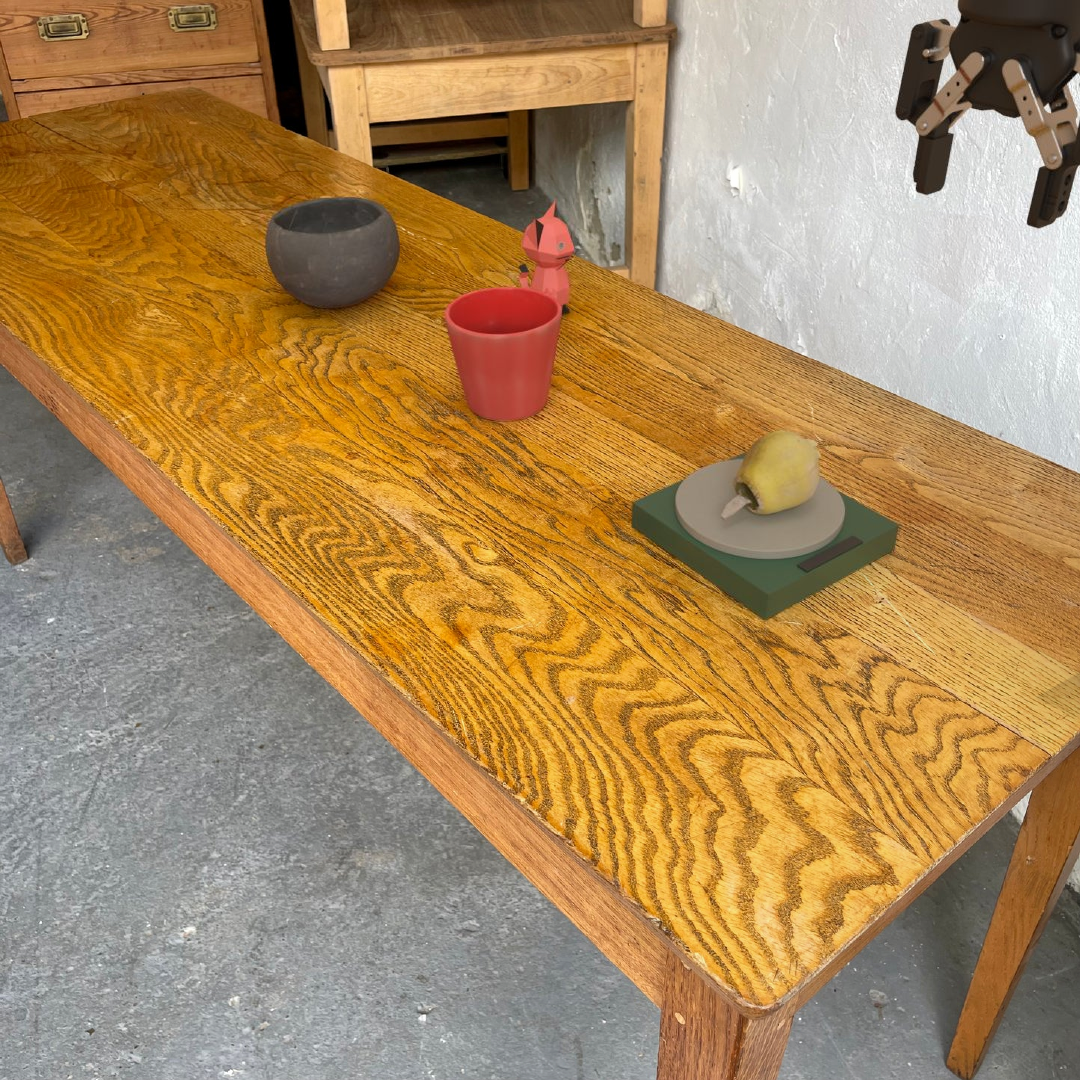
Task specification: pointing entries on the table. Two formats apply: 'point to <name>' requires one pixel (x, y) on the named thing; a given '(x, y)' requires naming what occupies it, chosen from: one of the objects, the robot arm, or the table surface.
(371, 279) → the bowl
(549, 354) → the flower pot
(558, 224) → the cat figurine
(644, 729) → the table surface
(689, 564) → the scale
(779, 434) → the fruit
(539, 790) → the table surface
